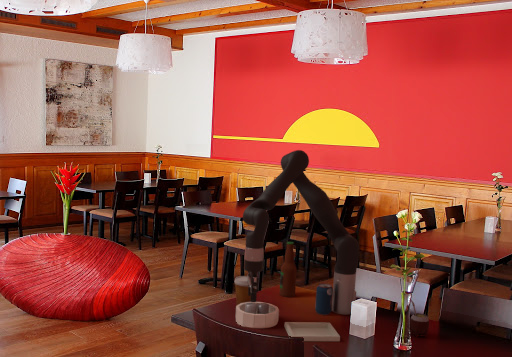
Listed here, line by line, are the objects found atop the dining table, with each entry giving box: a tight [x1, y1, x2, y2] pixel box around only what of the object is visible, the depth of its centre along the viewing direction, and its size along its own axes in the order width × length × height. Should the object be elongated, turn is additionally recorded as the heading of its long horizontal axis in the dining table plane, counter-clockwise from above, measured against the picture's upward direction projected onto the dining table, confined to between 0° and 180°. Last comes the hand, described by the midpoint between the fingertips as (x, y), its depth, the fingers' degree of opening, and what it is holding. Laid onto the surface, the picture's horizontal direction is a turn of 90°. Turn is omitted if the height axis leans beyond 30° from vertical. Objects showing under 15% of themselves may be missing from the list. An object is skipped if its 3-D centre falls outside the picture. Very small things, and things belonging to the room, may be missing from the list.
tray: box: [283, 321, 341, 342], centre depth 216 cm, size 18×15×2 cm
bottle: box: [279, 241, 297, 298], centre depth 265 cm, size 7×7×25 cm
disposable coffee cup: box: [234, 275, 256, 306], centre depth 246 cm, size 10×10×12 cm
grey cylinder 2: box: [257, 302, 270, 314], centre depth 227 cm, size 5×5×6 cm
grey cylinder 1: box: [245, 303, 257, 314], centre depth 227 cm, size 5×5×6 cm
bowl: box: [235, 301, 280, 329], centre depth 227 cm, size 17×17×6 cm
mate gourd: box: [409, 299, 430, 336], centre depth 221 cm, size 8×8×15 cm
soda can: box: [314, 282, 333, 316], centre depth 243 cm, size 7×7×12 cm
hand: (251, 298), depth 226 cm, fingers open, 8 cm apart
